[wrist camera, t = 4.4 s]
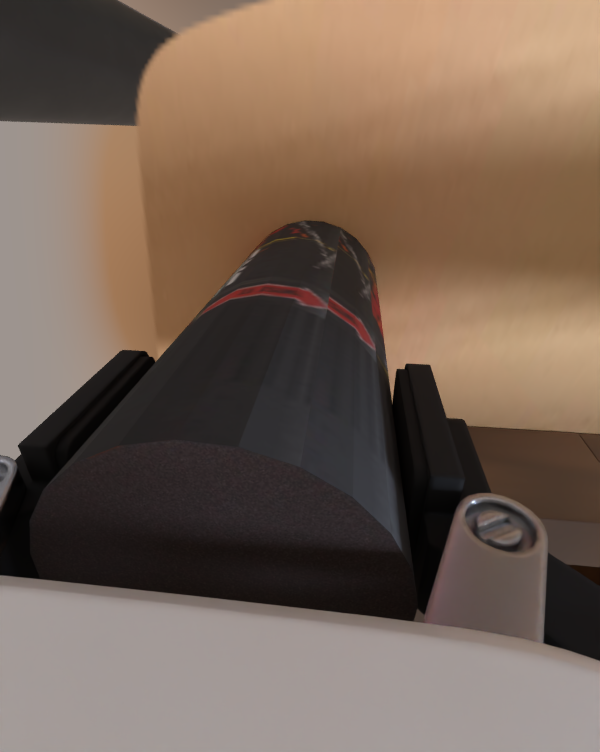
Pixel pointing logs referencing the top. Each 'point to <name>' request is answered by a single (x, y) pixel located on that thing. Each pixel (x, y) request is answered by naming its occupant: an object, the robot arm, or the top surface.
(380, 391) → the deodorant
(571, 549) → the box
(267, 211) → the top surface
